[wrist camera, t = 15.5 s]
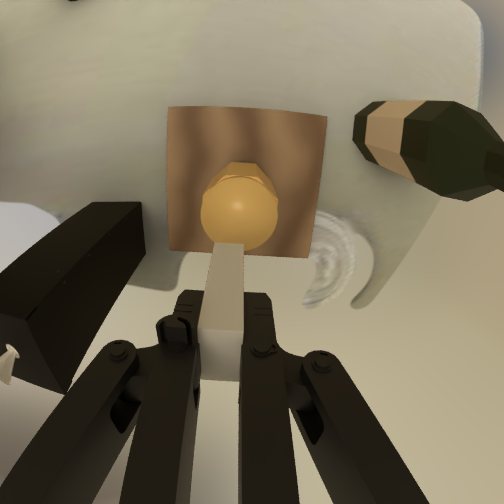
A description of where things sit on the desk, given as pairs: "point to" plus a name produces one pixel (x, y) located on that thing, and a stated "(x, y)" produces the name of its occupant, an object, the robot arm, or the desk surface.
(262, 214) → the ochre cap
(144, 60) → the desk surface
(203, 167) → the walnut board
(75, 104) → the desk surface
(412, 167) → the labelled green bottle
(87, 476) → the robot arm
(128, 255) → the black pillar candle
